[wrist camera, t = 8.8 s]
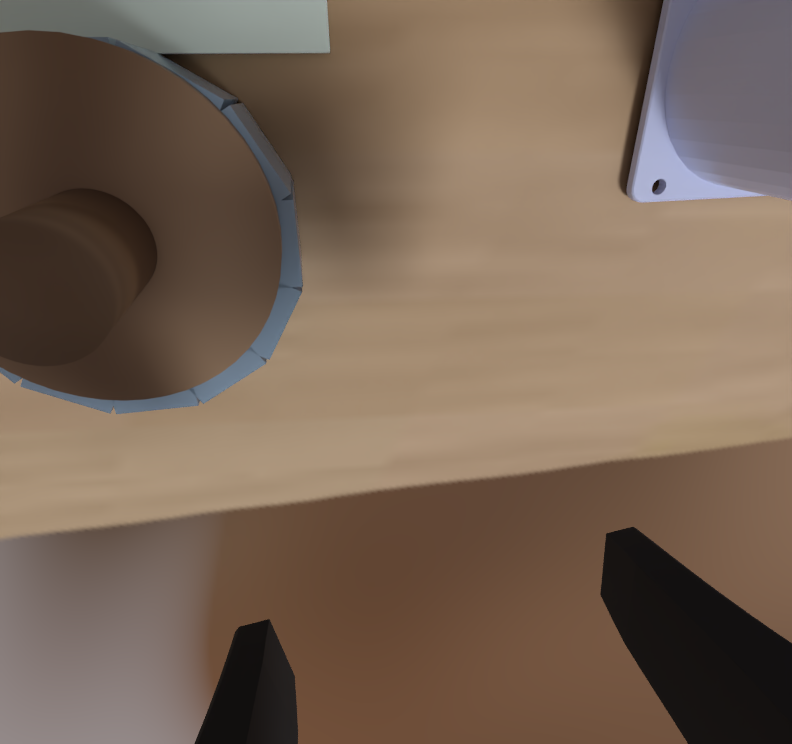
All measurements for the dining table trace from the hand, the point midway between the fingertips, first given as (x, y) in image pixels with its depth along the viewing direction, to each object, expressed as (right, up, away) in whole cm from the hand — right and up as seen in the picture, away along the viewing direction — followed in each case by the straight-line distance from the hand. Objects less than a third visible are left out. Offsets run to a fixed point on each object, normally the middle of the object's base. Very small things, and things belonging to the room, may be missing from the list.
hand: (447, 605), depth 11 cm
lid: (-8, +8, +2) cm, 12 cm away
